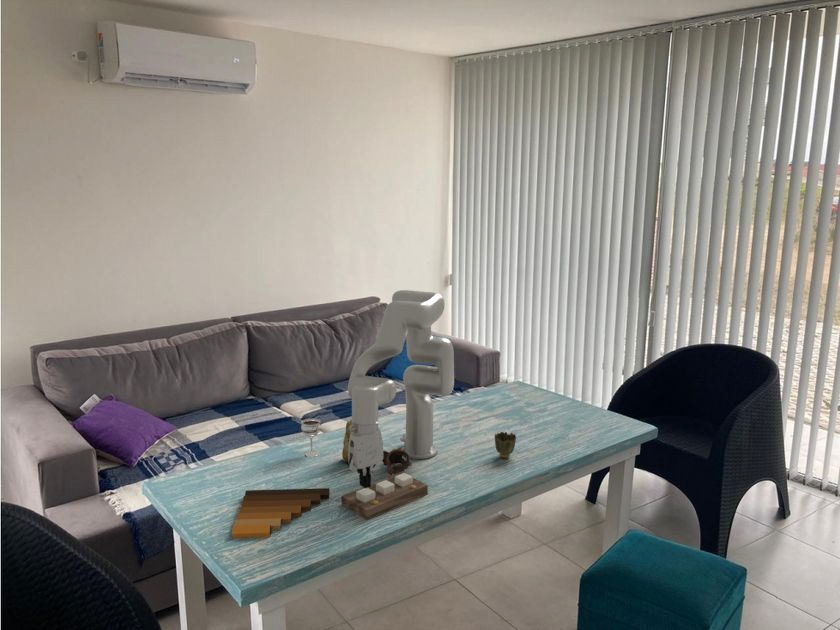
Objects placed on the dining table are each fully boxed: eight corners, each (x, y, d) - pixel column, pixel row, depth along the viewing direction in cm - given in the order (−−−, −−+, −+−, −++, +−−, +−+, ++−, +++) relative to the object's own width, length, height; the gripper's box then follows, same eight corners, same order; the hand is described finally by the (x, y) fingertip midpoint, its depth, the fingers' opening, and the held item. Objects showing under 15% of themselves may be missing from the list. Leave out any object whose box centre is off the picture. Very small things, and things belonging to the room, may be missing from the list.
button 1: (356, 499, 207) (356, 491, 206) (366, 495, 210) (366, 487, 209) (364, 504, 204) (364, 496, 204) (375, 499, 207) (375, 491, 206)
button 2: (394, 484, 217) (394, 476, 217) (404, 480, 220) (404, 472, 219) (403, 488, 214) (403, 480, 214) (412, 484, 217) (412, 476, 216)
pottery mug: (415, 467, 237) (416, 452, 231) (402, 488, 230) (403, 474, 225) (383, 453, 240) (384, 438, 234) (370, 473, 234) (370, 459, 228)
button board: (341, 505, 209) (341, 495, 208) (401, 481, 225) (401, 471, 224) (366, 519, 200) (366, 509, 199) (427, 493, 216) (427, 484, 216)
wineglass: (320, 458, 242) (319, 425, 239) (300, 458, 242) (299, 425, 239) (322, 450, 248) (321, 418, 246) (303, 450, 248) (302, 418, 246)
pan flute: (329, 495, 216) (246, 498, 214) (329, 485, 215) (246, 487, 213) (325, 537, 192) (232, 540, 190) (325, 526, 191) (231, 529, 189)
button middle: (375, 491, 212) (375, 483, 212) (385, 487, 215) (385, 479, 214) (384, 496, 209) (384, 488, 209) (394, 491, 212) (394, 484, 211)
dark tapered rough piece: (490, 458, 242) (491, 437, 241) (498, 451, 249) (499, 430, 247) (510, 463, 239) (511, 441, 237) (518, 455, 245) (519, 434, 244)
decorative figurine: (372, 461, 240) (372, 419, 237) (357, 469, 233) (357, 426, 230) (350, 454, 245) (350, 413, 242) (335, 462, 238) (334, 420, 235)
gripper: (352, 436, 194) (352, 498, 198) (393, 424, 204) (392, 483, 208) (336, 429, 200) (336, 489, 203) (376, 417, 210) (376, 475, 213)
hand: (365, 486), depth 206 cm, fingers closed
